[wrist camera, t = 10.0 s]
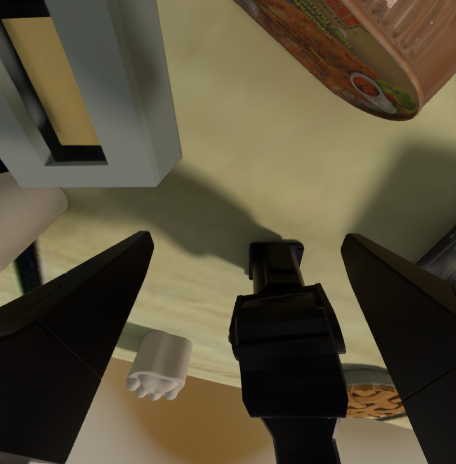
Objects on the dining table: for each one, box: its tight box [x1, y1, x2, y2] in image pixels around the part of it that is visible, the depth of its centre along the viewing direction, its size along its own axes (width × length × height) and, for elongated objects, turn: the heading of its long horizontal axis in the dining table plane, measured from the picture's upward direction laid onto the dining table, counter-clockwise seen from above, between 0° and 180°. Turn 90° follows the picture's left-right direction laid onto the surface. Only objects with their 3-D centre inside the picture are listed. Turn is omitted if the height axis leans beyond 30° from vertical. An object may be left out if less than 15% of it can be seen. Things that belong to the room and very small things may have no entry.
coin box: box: [0, 0, 182, 188], centre depth 13 cm, size 11×10×7 cm
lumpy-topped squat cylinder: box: [126, 330, 192, 401], centre depth 40 cm, size 10×13×9 cm
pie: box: [343, 370, 406, 418], centre depth 47 cm, size 22×22×5 cm
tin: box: [235, 0, 456, 121], centre depth 10 cm, size 15×3×8 cm, turn 58°
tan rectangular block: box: [1, 17, 101, 145], centre depth 14 cm, size 6×3×5 cm, turn 1°
